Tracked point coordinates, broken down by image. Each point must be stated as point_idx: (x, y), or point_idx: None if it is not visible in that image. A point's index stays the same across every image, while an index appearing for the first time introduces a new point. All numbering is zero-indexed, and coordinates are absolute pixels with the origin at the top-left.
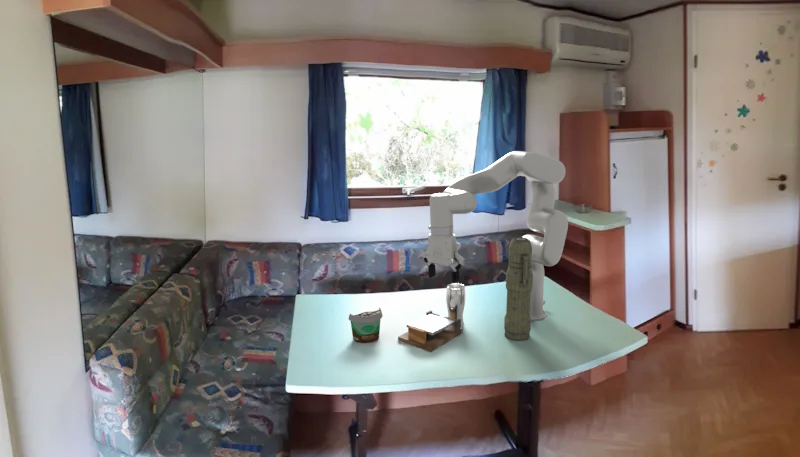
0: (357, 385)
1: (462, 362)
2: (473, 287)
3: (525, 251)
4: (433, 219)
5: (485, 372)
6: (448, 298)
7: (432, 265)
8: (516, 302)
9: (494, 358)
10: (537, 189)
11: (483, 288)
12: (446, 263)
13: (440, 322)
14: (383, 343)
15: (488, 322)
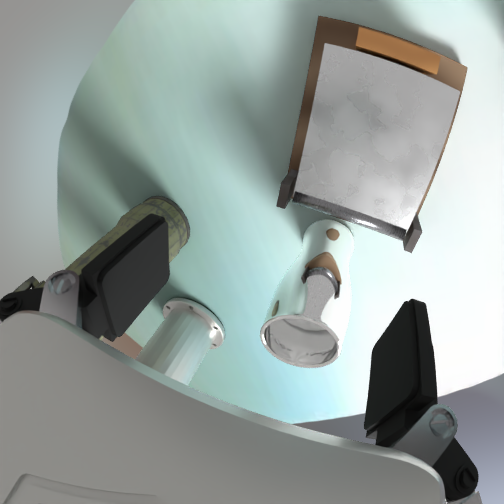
0: None
1: (205, 14)
2: (340, 412)
3: None
4: None
5: (142, 12)
6: (332, 286)
7: (388, 422)
8: (87, 254)
9: (150, 82)
10: None
11: (321, 410)
12: (36, 341)
13: (341, 158)
14: (491, 41)
15: (250, 278)
